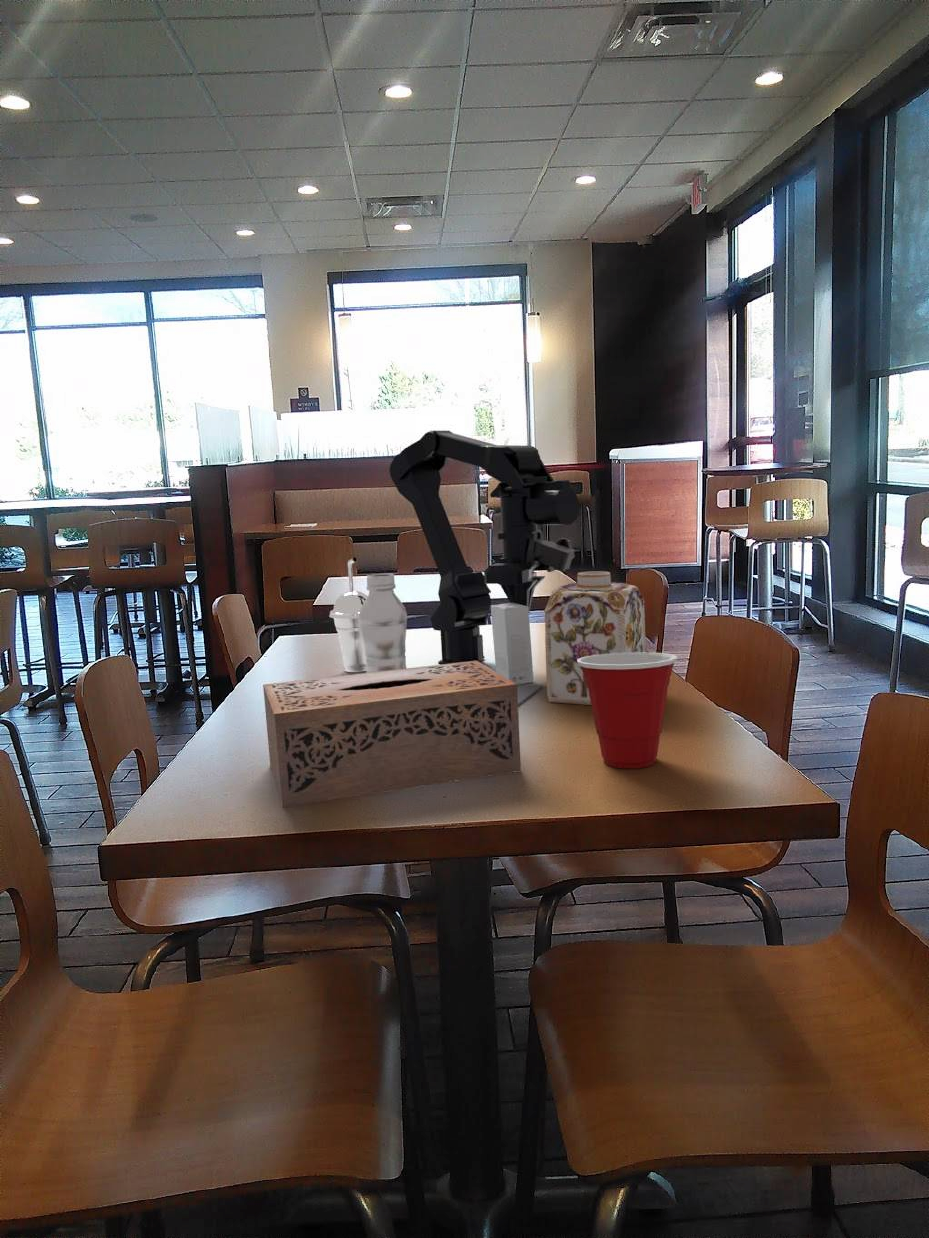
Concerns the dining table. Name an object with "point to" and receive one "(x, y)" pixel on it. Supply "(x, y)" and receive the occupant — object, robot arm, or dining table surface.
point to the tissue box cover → (390, 730)
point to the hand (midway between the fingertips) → (523, 621)
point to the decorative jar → (589, 630)
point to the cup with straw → (350, 626)
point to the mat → (526, 691)
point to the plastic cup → (628, 704)
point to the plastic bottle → (383, 625)
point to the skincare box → (512, 642)
